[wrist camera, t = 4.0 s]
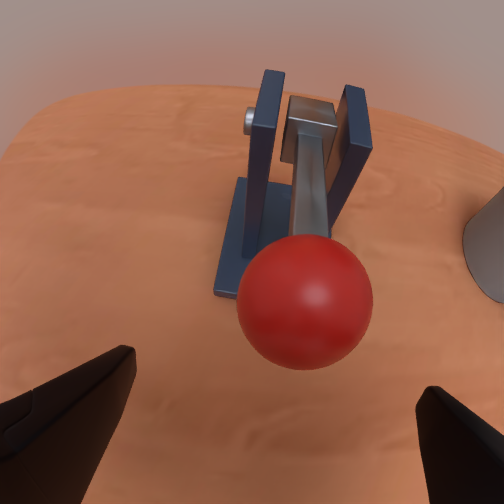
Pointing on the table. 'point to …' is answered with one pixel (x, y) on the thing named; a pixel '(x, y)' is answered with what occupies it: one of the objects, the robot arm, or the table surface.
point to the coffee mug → (487, 247)
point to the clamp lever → (305, 262)
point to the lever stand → (279, 195)
